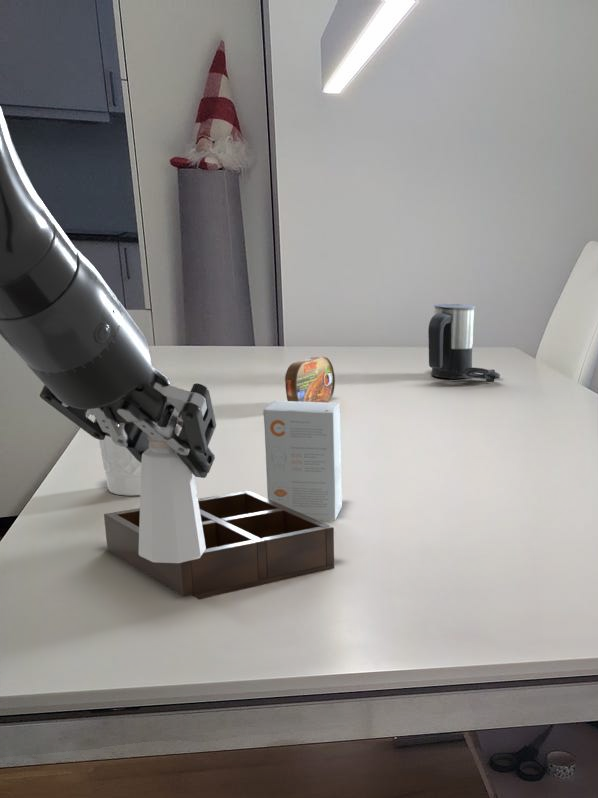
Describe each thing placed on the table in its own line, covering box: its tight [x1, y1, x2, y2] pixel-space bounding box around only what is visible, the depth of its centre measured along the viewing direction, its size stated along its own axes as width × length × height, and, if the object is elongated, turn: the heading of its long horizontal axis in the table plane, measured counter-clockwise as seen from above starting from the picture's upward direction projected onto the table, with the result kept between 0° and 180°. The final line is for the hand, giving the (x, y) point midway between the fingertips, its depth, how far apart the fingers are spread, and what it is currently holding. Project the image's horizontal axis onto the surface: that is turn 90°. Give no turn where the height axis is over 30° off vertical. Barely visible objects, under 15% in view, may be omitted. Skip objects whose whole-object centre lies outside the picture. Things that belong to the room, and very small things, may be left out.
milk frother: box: [427, 303, 501, 383], centre depth 220 cm, size 14×16×15 cm
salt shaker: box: [138, 423, 206, 563], centre depth 83 cm, size 5×5×11 cm
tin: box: [284, 356, 336, 403], centre depth 186 cm, size 15×3×8 cm, turn 161°
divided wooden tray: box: [103, 490, 335, 600], centre depth 107 cm, size 17×17×4 cm
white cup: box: [98, 436, 141, 497], centre depth 130 cm, size 8×8×10 cm
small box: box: [262, 400, 343, 522], centre depth 123 cm, size 8×6×13 cm
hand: (180, 464), depth 84 cm, fingers closed on salt shaker, 4 cm apart
